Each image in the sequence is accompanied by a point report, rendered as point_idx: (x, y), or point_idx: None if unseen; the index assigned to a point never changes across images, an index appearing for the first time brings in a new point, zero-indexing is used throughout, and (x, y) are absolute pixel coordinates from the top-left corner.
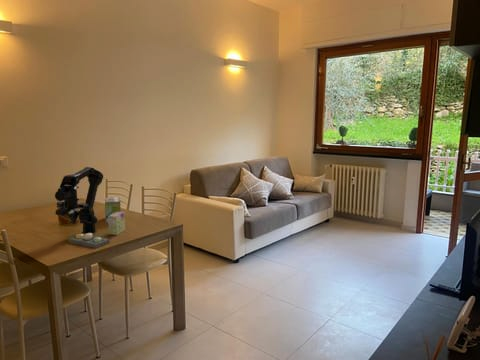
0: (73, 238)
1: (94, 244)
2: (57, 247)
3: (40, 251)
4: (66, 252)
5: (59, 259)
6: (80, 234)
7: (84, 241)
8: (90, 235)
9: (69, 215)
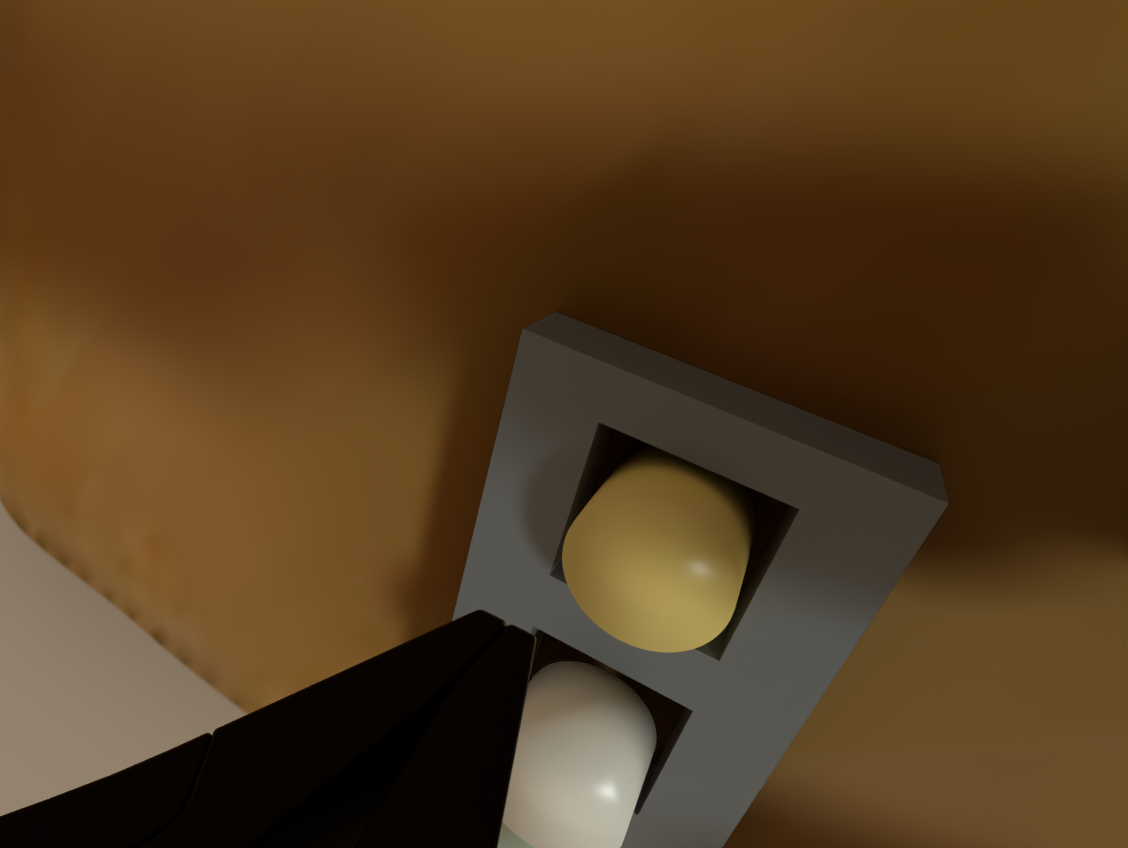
0: (557, 448)
1: None
2: (295, 284)
3: (103, 118)
4: (221, 513)
5: (87, 524)
6: (665, 587)
7: None
8: (525, 828)
9: None
